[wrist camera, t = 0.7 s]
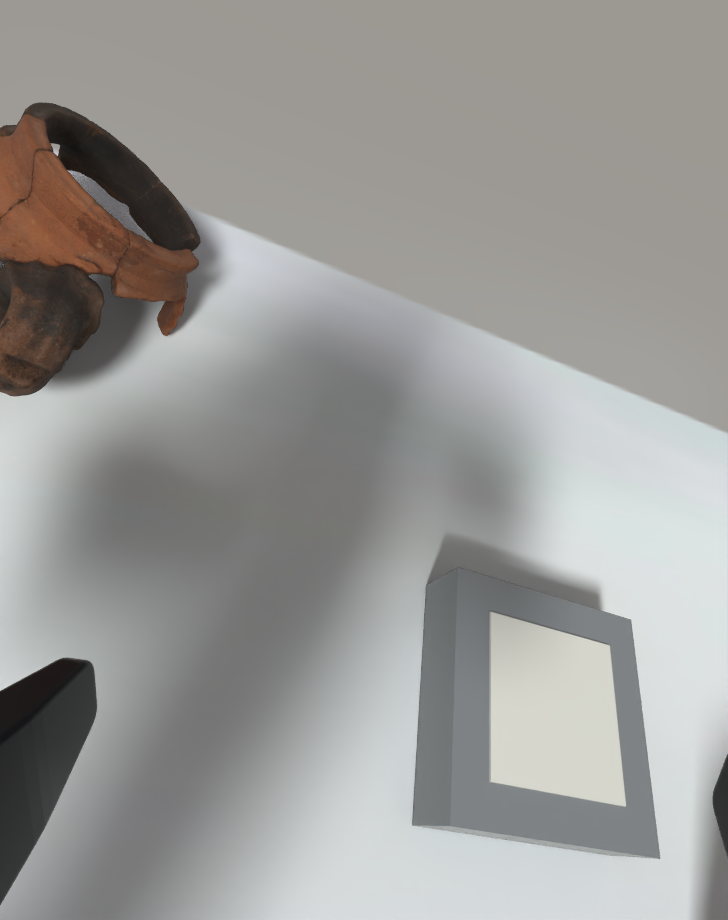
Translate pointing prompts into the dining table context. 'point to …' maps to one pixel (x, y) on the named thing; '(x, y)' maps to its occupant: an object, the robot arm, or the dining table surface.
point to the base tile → (531, 721)
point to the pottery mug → (78, 241)
